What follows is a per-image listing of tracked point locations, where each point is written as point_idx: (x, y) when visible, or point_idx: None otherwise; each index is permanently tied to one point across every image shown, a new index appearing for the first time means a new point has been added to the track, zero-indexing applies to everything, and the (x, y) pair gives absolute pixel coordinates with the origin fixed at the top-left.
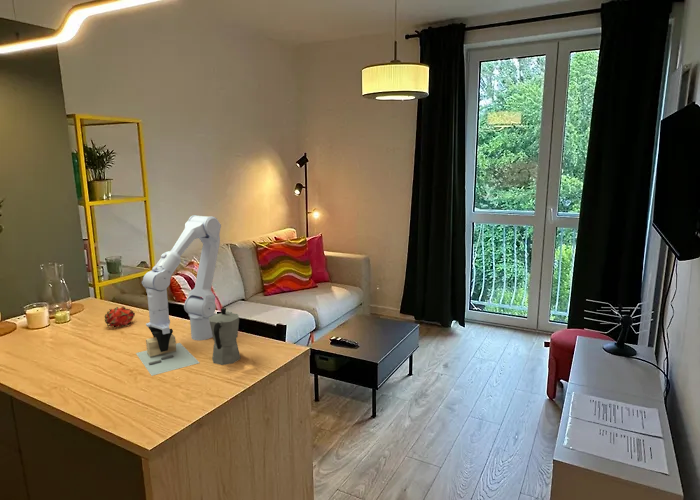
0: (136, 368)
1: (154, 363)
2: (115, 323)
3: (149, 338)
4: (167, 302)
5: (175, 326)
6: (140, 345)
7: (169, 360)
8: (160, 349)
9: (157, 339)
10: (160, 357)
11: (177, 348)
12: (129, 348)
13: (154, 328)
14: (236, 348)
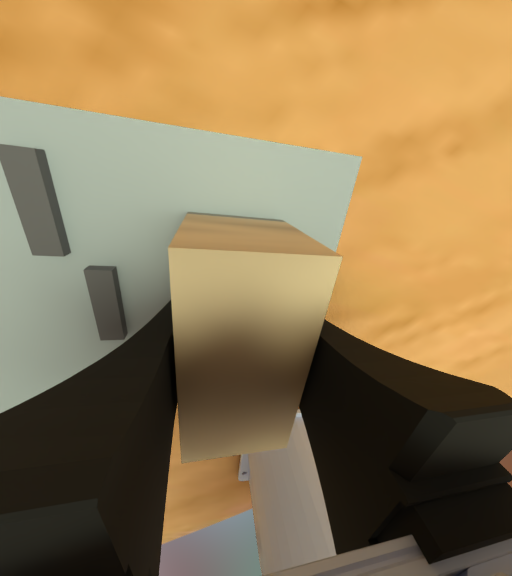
0: (140, 68)
1: (18, 194)
2: None
3: (326, 295)
4: None
5: None
6: (462, 242)
7: (57, 303)
8: (164, 306)
9: (83, 374)
10: (154, 271)
11: None
12: (489, 179)
13: (388, 453)
14: None
